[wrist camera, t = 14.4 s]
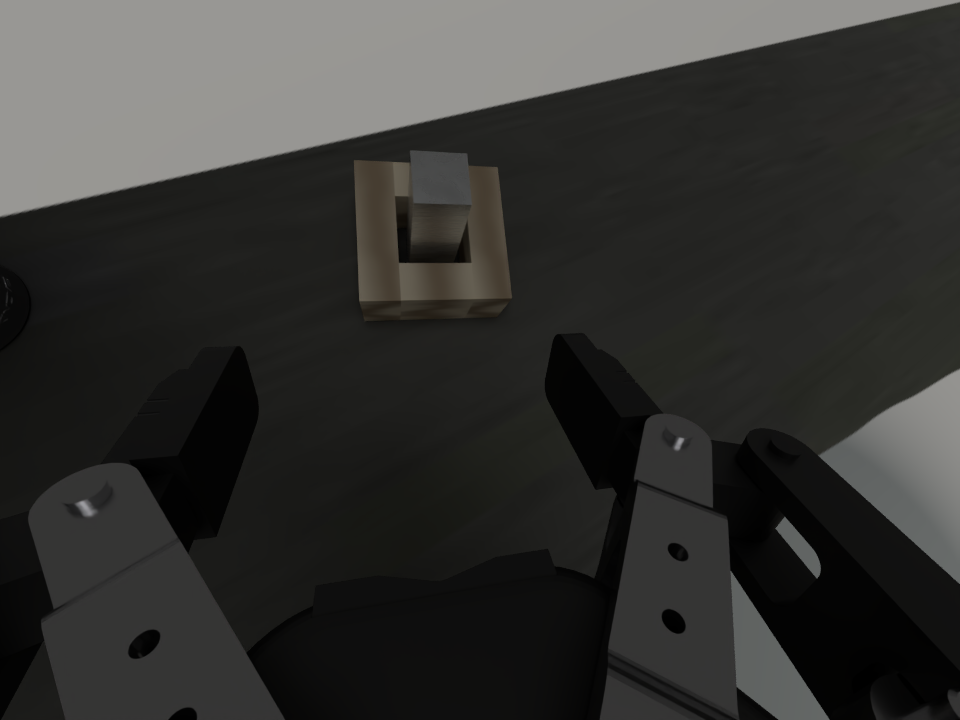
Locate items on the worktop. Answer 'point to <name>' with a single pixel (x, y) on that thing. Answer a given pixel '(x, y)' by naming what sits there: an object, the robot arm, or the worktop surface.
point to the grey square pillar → (436, 205)
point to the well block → (428, 286)
